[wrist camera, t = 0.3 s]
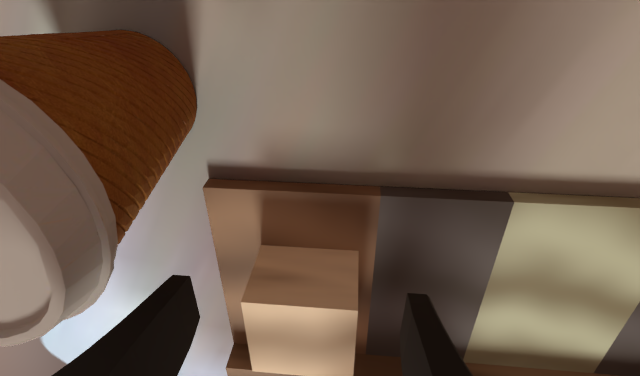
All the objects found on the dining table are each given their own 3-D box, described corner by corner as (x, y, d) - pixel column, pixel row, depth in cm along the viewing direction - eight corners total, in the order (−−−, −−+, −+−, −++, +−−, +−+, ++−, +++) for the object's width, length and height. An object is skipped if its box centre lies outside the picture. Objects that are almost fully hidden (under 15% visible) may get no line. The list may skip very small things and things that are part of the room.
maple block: (354, 317, 25) (352, 380, 22) (268, 310, 26) (252, 371, 22) (358, 250, 22) (357, 310, 19) (261, 245, 23) (240, 302, 19)
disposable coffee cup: (187, -29, 16) (-105, -11, 6) (249, 162, 21) (143, 352, 11) (8, 13, 18) (-454, 84, 8) (102, 181, 23) (-107, 361, 13)
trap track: (664, 379, 27) (695, 422, 25) (239, 344, 30) (228, 379, 27) (809, 205, 19) (877, 243, 17) (208, 178, 22) (188, 207, 19)
